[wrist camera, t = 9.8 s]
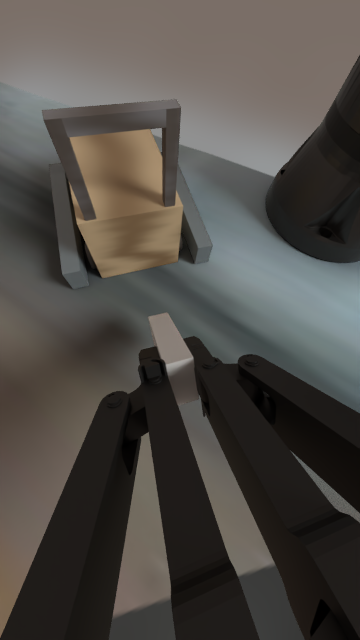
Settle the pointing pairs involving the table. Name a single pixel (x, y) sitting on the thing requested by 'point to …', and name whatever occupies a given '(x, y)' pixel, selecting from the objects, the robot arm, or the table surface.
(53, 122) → the cart
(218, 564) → the robot arm
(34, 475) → the table surface
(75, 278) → the frame
